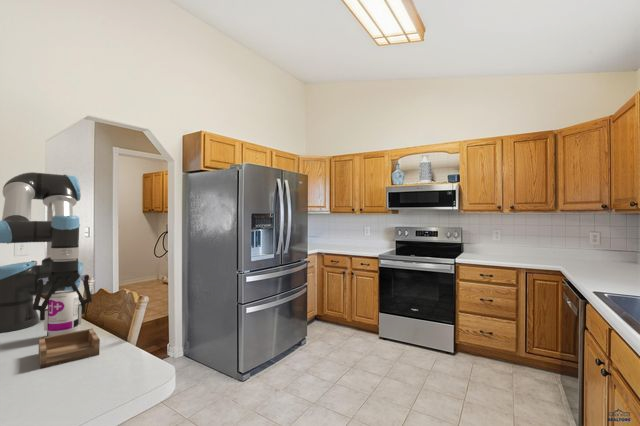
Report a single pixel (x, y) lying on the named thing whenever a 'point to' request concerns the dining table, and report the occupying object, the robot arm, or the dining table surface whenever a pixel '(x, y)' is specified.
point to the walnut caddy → (68, 347)
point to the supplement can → (63, 313)
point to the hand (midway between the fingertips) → (62, 326)
